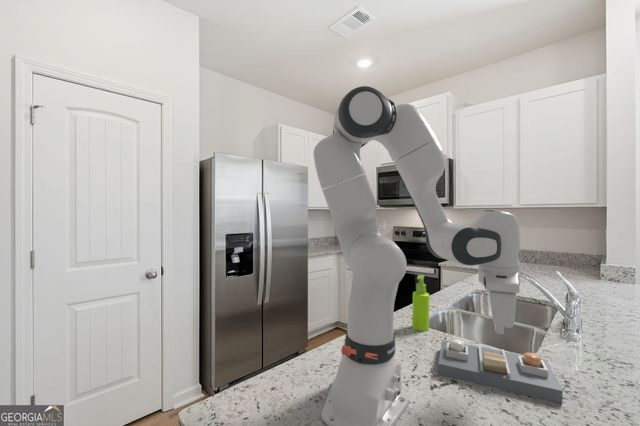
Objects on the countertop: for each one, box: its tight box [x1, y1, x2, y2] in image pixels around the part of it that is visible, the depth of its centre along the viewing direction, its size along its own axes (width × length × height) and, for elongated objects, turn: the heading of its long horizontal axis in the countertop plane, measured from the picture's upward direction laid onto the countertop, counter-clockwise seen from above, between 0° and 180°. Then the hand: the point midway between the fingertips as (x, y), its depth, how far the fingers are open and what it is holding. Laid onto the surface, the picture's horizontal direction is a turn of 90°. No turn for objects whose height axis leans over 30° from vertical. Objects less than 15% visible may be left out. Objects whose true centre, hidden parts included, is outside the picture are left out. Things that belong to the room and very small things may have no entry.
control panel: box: [437, 339, 563, 404], centre depth 83 cm, size 16×27×5 cm, turn 64°
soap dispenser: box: [411, 274, 430, 332], centre depth 112 cm, size 6×7×20 cm
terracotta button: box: [523, 352, 542, 368], centre depth 79 cm, size 4×4×2 cm
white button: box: [450, 338, 465, 352], centre depth 87 cm, size 4×4×2 cm
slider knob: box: [483, 351, 506, 374], centre depth 79 cm, size 4×5×3 cm
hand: (499, 331), depth 74 cm, fingers closed
